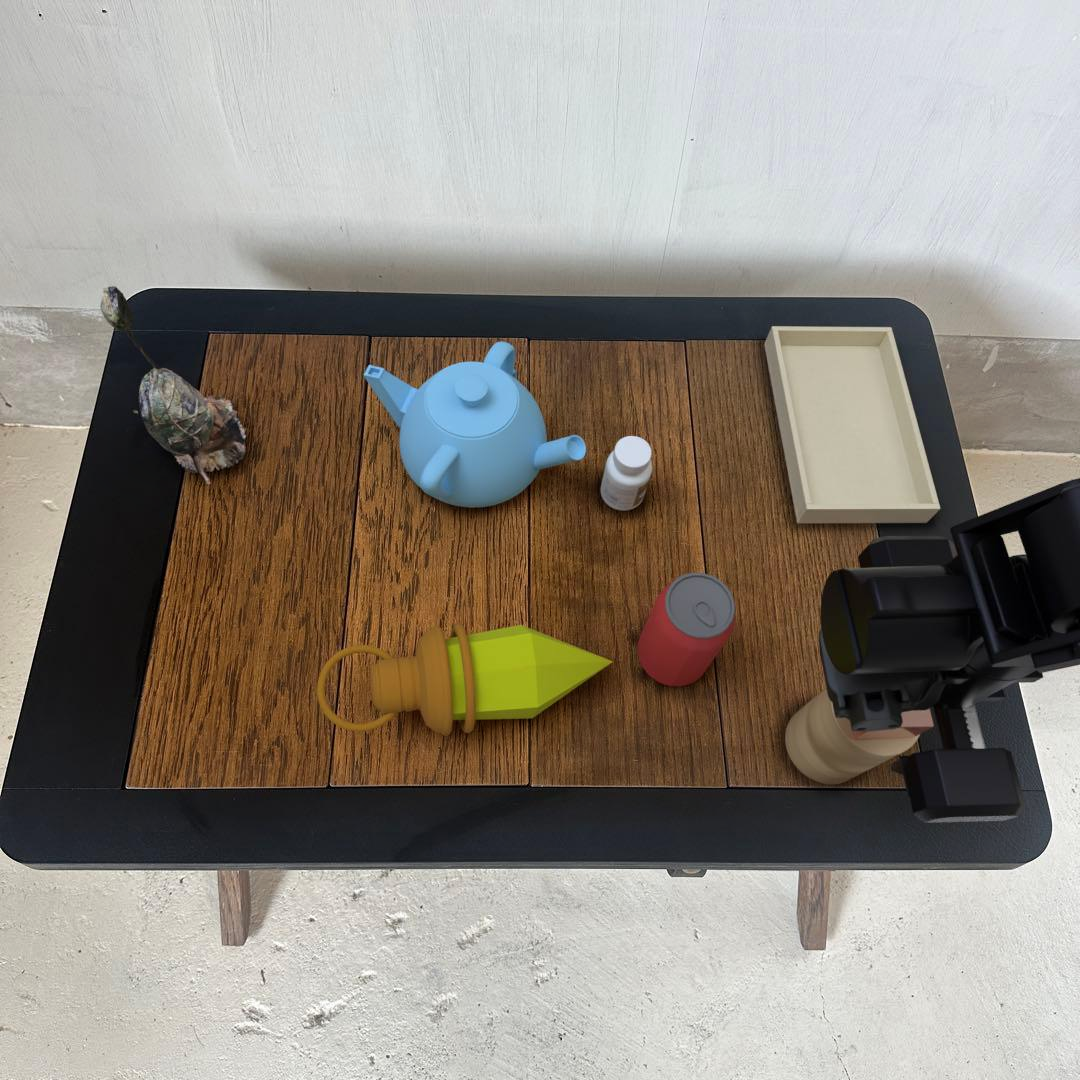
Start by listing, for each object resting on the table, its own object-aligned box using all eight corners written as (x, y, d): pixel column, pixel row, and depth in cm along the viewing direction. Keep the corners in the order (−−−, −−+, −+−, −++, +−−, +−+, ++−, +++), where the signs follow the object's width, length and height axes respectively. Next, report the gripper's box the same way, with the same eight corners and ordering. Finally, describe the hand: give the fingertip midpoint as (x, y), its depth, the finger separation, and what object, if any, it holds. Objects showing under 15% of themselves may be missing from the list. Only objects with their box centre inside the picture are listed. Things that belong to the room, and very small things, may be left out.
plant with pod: (156, 496, 82) (61, 367, 64) (173, 399, 87) (90, 255, 69) (242, 495, 83) (171, 366, 65) (254, 399, 88) (192, 255, 70)
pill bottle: (644, 512, 84) (658, 472, 77) (600, 511, 84) (610, 470, 77) (643, 474, 86) (656, 431, 79) (599, 472, 86) (609, 429, 79)
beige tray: (926, 523, 85) (940, 508, 82) (797, 523, 84) (806, 509, 81) (880, 344, 95) (891, 326, 92) (764, 344, 94) (771, 325, 91)
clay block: (912, 738, 63) (934, 726, 60) (853, 739, 63) (872, 727, 60) (899, 679, 65) (920, 665, 62) (842, 680, 65) (859, 666, 62)
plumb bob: (592, 617, 79) (316, 644, 73) (620, 600, 71) (310, 630, 65) (606, 715, 77) (323, 751, 71) (637, 711, 69) (318, 751, 63)
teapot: (442, 556, 81) (435, 498, 71) (371, 420, 87) (355, 349, 77) (583, 494, 84) (595, 431, 74) (505, 368, 91) (506, 294, 81)
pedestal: (872, 722, 75) (931, 685, 65) (854, 797, 72) (913, 770, 62) (796, 692, 76) (843, 650, 66) (775, 765, 73) (821, 733, 63)
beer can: (660, 701, 75) (687, 658, 65) (623, 638, 78) (643, 586, 67) (721, 669, 77) (758, 621, 66) (683, 608, 79) (713, 553, 69)
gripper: (828, 492, 53) (758, 590, 67) (892, 802, 45) (797, 840, 59) (1001, 492, 53) (896, 589, 67) (1096, 797, 45) (954, 836, 59)
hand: (883, 705), depth 63 cm, fingers open, 9 cm apart
